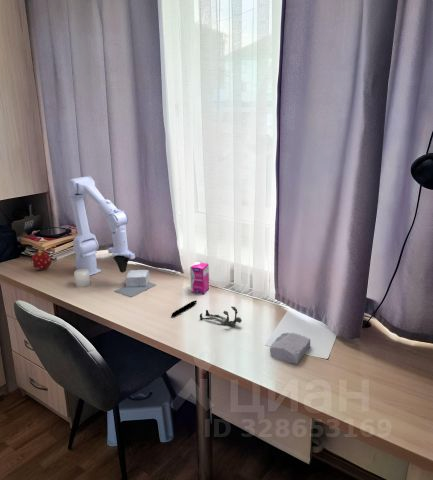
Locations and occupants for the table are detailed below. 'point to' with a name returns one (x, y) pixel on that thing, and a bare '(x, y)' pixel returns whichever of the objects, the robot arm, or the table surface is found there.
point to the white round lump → (82, 278)
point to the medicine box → (137, 278)
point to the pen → (183, 309)
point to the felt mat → (134, 289)
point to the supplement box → (199, 278)
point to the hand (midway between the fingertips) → (123, 271)
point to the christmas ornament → (41, 260)
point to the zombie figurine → (223, 318)
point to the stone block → (290, 347)
